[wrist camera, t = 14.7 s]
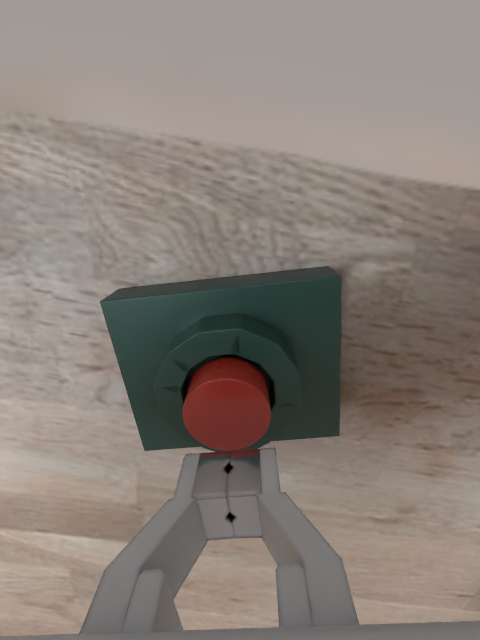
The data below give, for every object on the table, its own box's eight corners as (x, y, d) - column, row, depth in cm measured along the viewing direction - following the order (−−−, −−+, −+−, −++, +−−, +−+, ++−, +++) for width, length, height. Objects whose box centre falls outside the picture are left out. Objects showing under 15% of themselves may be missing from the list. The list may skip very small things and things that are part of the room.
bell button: (264, 352, 13) (267, 374, 11) (270, 419, 14) (274, 447, 12) (183, 360, 13) (174, 382, 11) (196, 425, 14) (190, 454, 13)
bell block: (328, 265, 15) (356, 286, 11) (329, 410, 18) (350, 463, 14) (118, 288, 16) (78, 315, 12) (154, 424, 19) (132, 478, 15)
